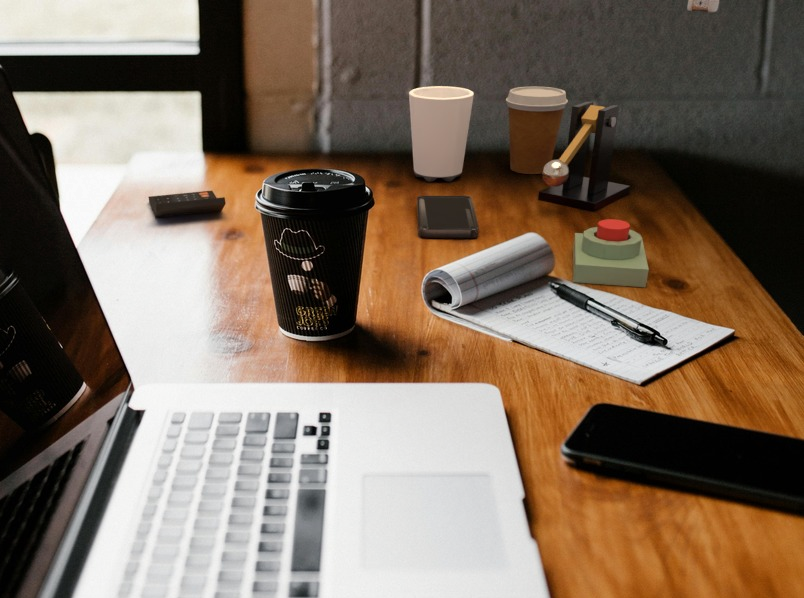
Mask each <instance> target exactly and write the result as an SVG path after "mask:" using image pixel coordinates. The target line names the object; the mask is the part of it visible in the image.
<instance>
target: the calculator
mask: <svg viewBox="0 0 804 598" xmlns="http://www.w3.org/2000/svg"><path fill="white" fill-rule="evenodd" d="M148 203H149V206H150V208H151V211H152V213H153V217H154V218H162V217H163V218H165V217H174V216H182V215H192V214H193V215H195V214H203V213H213V212H222V211H223V209H224V207H225V206H226V198H225V196H224V197H217V196H216V194H215V193H214V191H213V190H204V191H203V190H202V191H193V192H192V191H191V192H184V193H183V192H181V193H173V194H163V195H152V196H148Z"/></svg>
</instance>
